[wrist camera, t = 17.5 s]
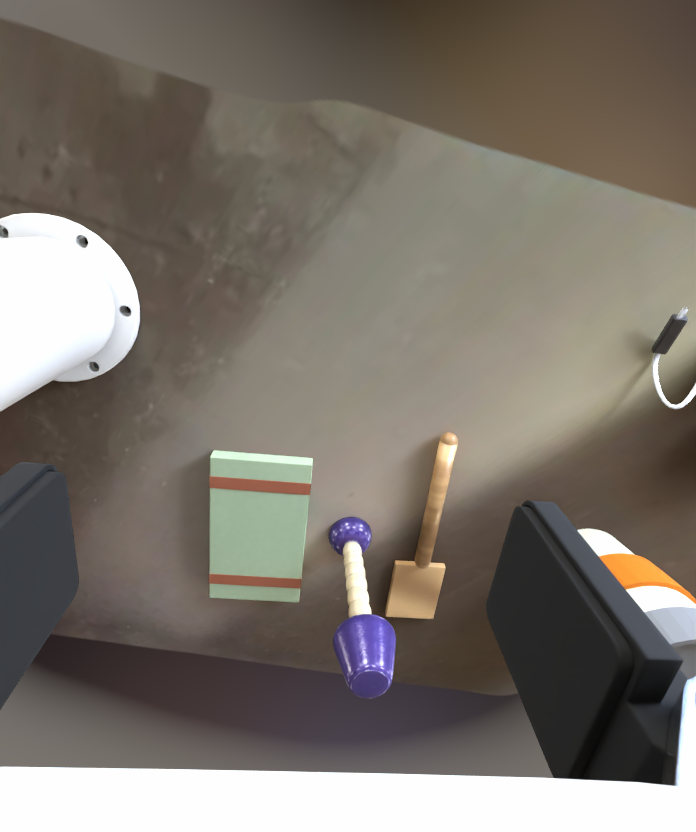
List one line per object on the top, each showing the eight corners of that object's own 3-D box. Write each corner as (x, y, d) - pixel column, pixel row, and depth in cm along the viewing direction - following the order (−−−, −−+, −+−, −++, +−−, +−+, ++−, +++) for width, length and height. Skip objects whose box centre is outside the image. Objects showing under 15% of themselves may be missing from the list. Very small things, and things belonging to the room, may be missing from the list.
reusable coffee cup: (495, 574, 50) (562, 711, 36) (585, 492, 46) (698, 609, 32) (572, 626, 53) (660, 769, 39) (662, 553, 50) (793, 682, 36)
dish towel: (211, 587, 48) (208, 598, 47) (213, 449, 42) (209, 457, 41) (299, 592, 49) (299, 603, 48) (313, 457, 43) (312, 465, 42)
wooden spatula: (431, 614, 51) (434, 625, 50) (384, 611, 51) (386, 623, 49) (475, 432, 43) (481, 439, 42) (420, 427, 43) (423, 434, 41)
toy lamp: (340, 506, 45) (350, 654, 30) (384, 521, 46) (415, 671, 31) (322, 544, 47) (322, 702, 32) (365, 557, 48) (385, 717, 33)
